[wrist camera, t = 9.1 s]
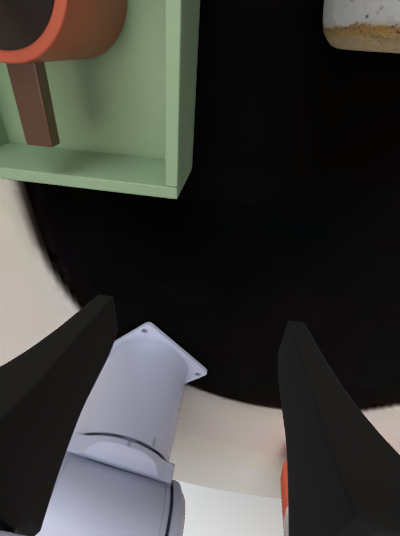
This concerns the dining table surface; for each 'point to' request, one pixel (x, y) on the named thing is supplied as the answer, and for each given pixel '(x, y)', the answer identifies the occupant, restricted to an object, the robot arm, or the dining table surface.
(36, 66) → the pot
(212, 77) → the dining table surface
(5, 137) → the drawer
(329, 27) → the ceramic mug
